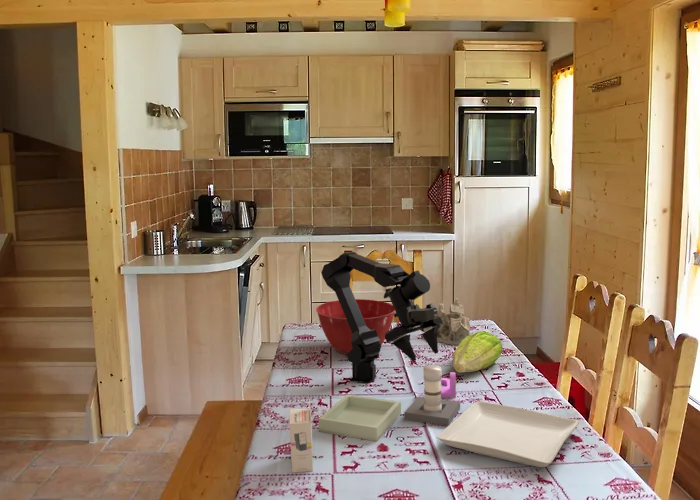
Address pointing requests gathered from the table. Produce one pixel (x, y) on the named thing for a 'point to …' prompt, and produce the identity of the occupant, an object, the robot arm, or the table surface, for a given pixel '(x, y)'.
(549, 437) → the square plate
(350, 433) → the tray
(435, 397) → the cream salt shaker
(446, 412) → the fuse holder
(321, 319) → the mixing bowl
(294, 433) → the ink box
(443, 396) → the bracket
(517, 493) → the table surface
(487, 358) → the lettuce
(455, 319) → the ceramic cottage
